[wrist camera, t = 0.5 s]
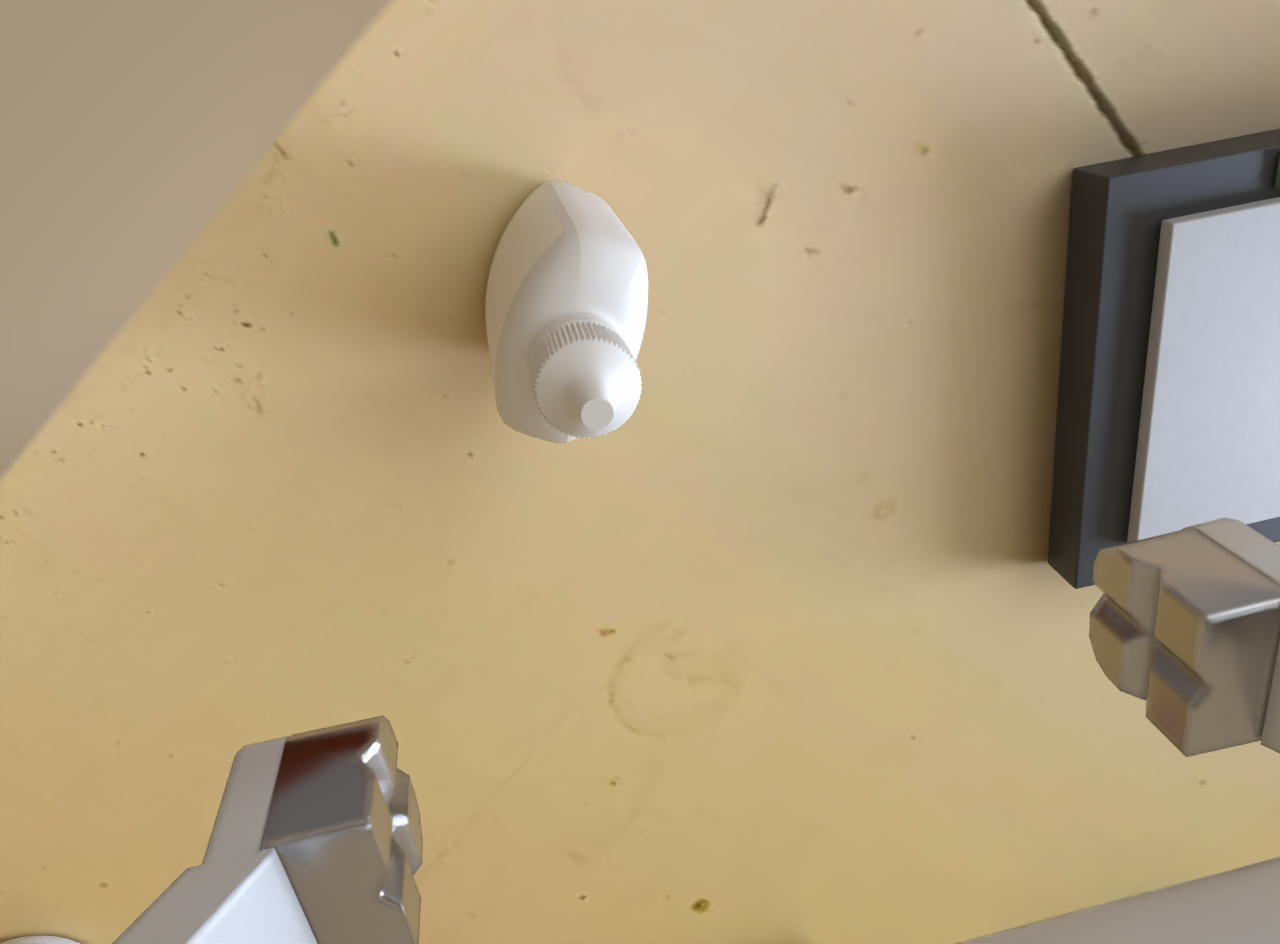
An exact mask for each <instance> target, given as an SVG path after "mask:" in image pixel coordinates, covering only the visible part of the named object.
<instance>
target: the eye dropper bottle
mask: <svg viewBox="0 0 1280 944" xmlns="http://www.w3.org/2000/svg"><path fill="white" fill-rule="evenodd" d="M647 306H648V275H647V266H646V262H645V259H644V257H643V254H642V252H641V250H640V248H639V247H638V245H637V244H636V242H635V240H634V239H633V238H632V236H631V235H630V234H629V232H628V231H627V230H626V228H625V227H624V225H623V224H622V223H621V221H620V220H619V219H618V218H617V216H616V215H615V214H614V212H613V211H612V210H611V208H610V207H609V206H608V204H607V203H606V202H605V201H603V200H602V199H601V198H600V197H598V196H596V195H594V194H592V193H590V192H587V191H585V190H582V189H580V188H577V187H575V186H572V185H570V184H567V183H564V182H561V181H556V180H548V181H546V182H544V183H542V184H540V185H539V186H538V187H537V188H536V189H535V190H534V191H533V192H532V193H531V194H530V195H529V196H528V197H527V198H526V200H525V201H524V202H523V203H522V205H521V206H520V207H519V208H518V210H517V211H516V213H515V214H514V216H513V217H512V219H511V220H510V222H509V224H508V225H507V227H506V229H505V231H504V233H503V235H502V237H501V239H500V241H499V243H498V246H497V249H496V251H495V254H494V257H493V260H492V264H491V268H490V272H489V277H488V283H487V291H486V304H485V315H486V329H487V338H488V347H489V355H490V363H491V371H492V379H493V386H494V392H495V398H496V404H497V409H498V412H499V414H500V416H501V418H502V420H503V421H504V423H505V424H506V425H508V426H509V427H511V428H512V429H514V430H515V431H518V432H521V433H523V434H526V435H529V436H532V437H535V438H539V439H542V440H546V441H550V442H555V443H567V442H569V441H572V440H574V439H576V438H577V437H580V438H584V437H585V438H589V437H591V438H593V437H599V436H600V435H601V436H603V435H605V434H609V432H613V431H614V430H615V429H618V428H619V426H622V425H623V423H624V422H627V419H628V418H630V415H631V414H633V410H635V409H636V407H635V406H636V405H637V404H638V402H637V401H638V400H639V399H640V397H639V396H640V394H641V392H640V390H641V389H642V387H641V384H642V382H641V380H640V379H641V376H640V371H639V369H638V365H637V363H636V358H637V356H638V352H639V349H640V346H641V342H642V338H643V334H644V329H645V323H646V316H647Z"/></svg>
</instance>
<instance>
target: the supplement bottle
mask: <svg viewBox="0 0 1280 944" xmlns="http://www.w3.org/2000/svg"><path fill="white" fill-rule="evenodd" d="M0 944H81V943H79V942H76V941H73V940H70V939H66V938H61V937H56V936H26V937H19V938H15V939H11V940H8V941H5V942H2V943H0Z"/></svg>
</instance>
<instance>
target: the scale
mask: <svg viewBox="0 0 1280 944" xmlns="http://www.w3.org/2000/svg"><path fill="white" fill-rule="evenodd" d="M1223 517H1225V518H1230V519H1235V520H1239V521H1241V522H1242V523H1244V524H1246V525H1247V526H1249V527H1250V528H1252V529H1253V530H1255V531H1257V532H1258V533H1260V534H1261V535H1263V536H1265V537H1266V538H1268V539H1269V540H1271V541H1272V542H1278V541H1280V129H1276V130H1271V131H1266V132H1261V133H1255V134H1250V135H1245V136H1240V137H1235V138H1229V139H1224V140H1219V141H1214V142H1209V143H1203V144H1198V145H1193V146H1188V147H1183V148H1177V149H1172V150H1167V151H1162V152H1157V153H1151V154H1146V155H1141V156H1136V157H1131V158H1125V159H1120V160H1115V161H1110V162H1105V163H1099V164H1094V165H1089V166H1084V167H1079V168H1075V169H1073V179H1072V195H1071V211H1070V226H1069V242H1068V258H1067V274H1066V289H1065V305H1064V321H1063V337H1062V352H1061V368H1060V384H1059V399H1058V415H1057V431H1056V447H1055V462H1054V478H1053V494H1052V509H1051V525H1050V541H1049V557H1048V563H1049V565H1050V566H1051V567H1053V568H1054V569H1055V570H1056V571H1057V572H1058V573H1059V574H1060V575H1061V576H1062V577H1063V578H1064V579H1065V580H1066V581H1067V582H1068V583H1069V584H1070V585H1072V586H1073V587H1074V588H1075V589H1078V588H1082V587H1086V586H1090V585H1095V583H1094V582H1093V581H1092V580H1093V569H1094V561H1095V559H1096V557H1097V555H1098V553H1099V551H1100V549H1104V548H1108V547H1112V546H1116V545H1120V544H1125V543H1129V542H1133V541H1137V540H1141V539H1146V538H1150V537H1154V536H1158V535H1162V534H1167V533H1171V532H1175V531H1179V530H1182V529H1183V528H1185V527H1189V526H1193V525H1197V524H1200V523H1204V522H1208V521H1212V520H1216V519H1219V518H1223Z"/></svg>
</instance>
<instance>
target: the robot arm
mask: <svg viewBox="0 0 1280 944" xmlns="http://www.w3.org/2000/svg"><path fill="white" fill-rule="evenodd" d="M1092 581H1093V582H1094V583H1095V584H1096V585H1097V586H1098V587H1099V589H1100V590H1101V591H1102V592H1103V593H1104V594H1103V595H1102V597H1101V598H1100V600H1099V601H1098V602H1097V604H1096V605H1095V607H1094V608H1093V609H1092V611H1091V612H1090V633H1089V637H1090V641H1091V644H1092V647H1093V651H1094V654H1095V657H1096V660H1097V662H1098V663H1099V665H1100V667H1101V668H1102V670H1103V672H1104V673H1105V675H1106V676H1107V677H1108V678H1109V680H1110V681H1111V682H1112V683H1113V684H1114V685H1115V686H1116V687H1117V688H1118V689H1119V690H1120V691H1122V692H1125V693H1127V694H1130V695H1133V696H1135V697H1138V698H1141V699H1143V700H1146V717H1147V718H1148V719H1149V720H1150V721H1151V722H1152V723H1153V724H1154V725H1155V726H1156V727H1157V728H1158V729H1159V730H1160V731H1161V732H1162V733H1163V734H1164V735H1165V736H1166V737H1167V738H1168V739H1169V740H1170V741H1171V742H1172V743H1173V744H1174V745H1175V746H1176V747H1177V748H1178V749H1179V750H1180V751H1181V752H1182V753H1183V754H1184V755H1185V756H1186V757H1189V756H1194V755H1198V754H1203V753H1207V752H1211V751H1216V750H1220V749H1225V748H1229V747H1234V746H1238V745H1243V744H1247V743H1251V742H1256V741H1260V740H1261V745H1263V746H1266V747H1268V748H1270V749H1272V750H1274V751H1276V752H1278V753H1280V546H1279V545H1277V544H1276V543H1274V542H1272V541H1271V540H1269V539H1268V538H1266V537H1265V536H1263V535H1261V534H1260V533H1258V532H1257V531H1255V530H1253V529H1252V528H1250V527H1249V526H1247V525H1246V524H1244V523H1242V522H1241V521H1239V520H1235V519H1230V518H1225V517H1223V518H1219V519H1216V520H1212V521H1208V522H1204V523H1200V524H1197V525H1193V526H1189V527H1185V528H1183V529H1182V530H1179V531H1175V532H1171V533H1167V534H1162V535H1158V536H1154V537H1150V538H1146V539H1141V540H1137V541H1133V542H1129V543H1125V544H1120V545H1116V546H1112V547H1108V548H1104V549H1100V551H1099V553H1098V555H1097V557H1096V559H1095V561H1094V569H1093V580H1092ZM397 757H398V742H397V739H396V737H395V734H394V732H393V729H392V726H391V724H390V721H389V720H388V719H387V718H386V717H384V716H379V717H374V718H369V719H364V720H360V721H355V722H350V723H345V724H341V725H336V726H331V727H326V728H322V729H317V730H312V731H307V732H303V733H298V734H293V735H291V736H290V737H288V736H285V737H281V738H276V739H272V740H267V741H263V742H259V743H254V744H250V745H245V746H243V747H242V748H241V749H240V750H239V751H238V752H237V753H236V755H235V757H234V760H233V763H232V767H231V770H230V773H229V777H228V780H227V783H226V787H225V790H224V793H223V796H222V800H221V803H220V806H219V810H218V813H217V816H216V820H215V823H214V826H213V829H212V833H211V836H210V839H209V843H208V846H207V849H206V853H205V856H204V859H203V862H202V865H199V866H195V867H191V868H187V869H186V870H185V871H184V872H183V873H182V874H181V875H180V876H179V877H178V878H177V879H176V880H175V881H174V882H173V883H172V884H171V885H170V886H169V887H168V888H167V889H166V890H165V891H164V892H163V893H162V894H161V895H160V896H159V897H158V898H157V899H156V900H155V901H154V902H153V903H152V904H151V905H150V906H149V907H148V908H147V909H146V910H145V911H144V912H143V913H142V914H141V915H140V916H139V917H138V918H137V919H136V920H135V921H134V922H133V923H132V924H131V925H130V926H129V927H128V928H127V929H126V930H125V931H124V932H123V933H122V934H121V935H120V936H119V937H118V938H117V939H116V940H115V941H114V942H113V943H112V944H419V929H420V907H421V897H420V894H419V892H418V889H417V886H416V883H415V880H414V878H413V875H414V874H415V873H416V871H417V870H418V869H419V867H420V866H421V864H422V850H423V839H422V830H421V820H420V812H419V808H418V804H417V799H416V795H415V791H414V788H413V785H412V782H411V779H410V776H409V775H408V774H406V773H404V772H403V771H401V770H399V769H398V768H397ZM955 944H1280V857H1277V858H1273V859H1269V860H1265V861H1262V862H1258V863H1254V864H1250V865H1247V866H1243V867H1239V868H1235V869H1232V870H1228V871H1224V872H1220V873H1217V874H1213V875H1209V876H1205V877H1202V878H1198V879H1194V880H1190V881H1187V882H1183V883H1179V884H1175V885H1172V886H1168V887H1164V888H1160V889H1157V890H1153V891H1149V892H1145V893H1142V894H1138V895H1134V896H1130V897H1127V898H1123V899H1119V900H1115V901H1112V902H1108V903H1104V904H1100V905H1097V906H1093V907H1089V908H1085V909H1082V910H1078V911H1074V912H1070V913H1067V914H1063V915H1059V916H1055V917H1052V918H1048V919H1044V920H1041V921H1037V922H1033V923H1029V924H1026V925H1022V926H1018V927H1015V928H1011V929H1007V930H1003V931H1000V932H996V933H992V934H988V935H985V936H981V937H977V938H974V939H970V940H966V941H962V942H959V943H955Z"/></svg>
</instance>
